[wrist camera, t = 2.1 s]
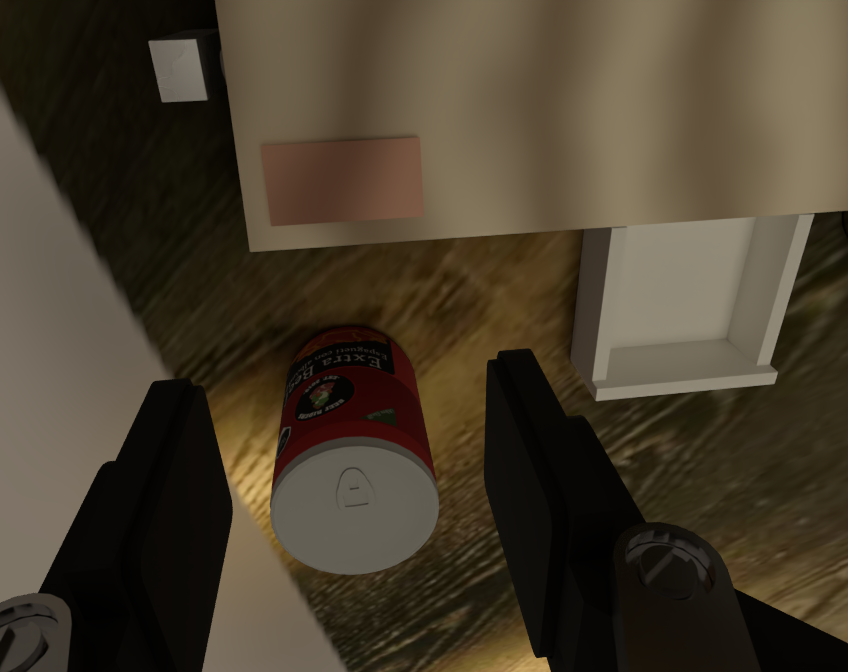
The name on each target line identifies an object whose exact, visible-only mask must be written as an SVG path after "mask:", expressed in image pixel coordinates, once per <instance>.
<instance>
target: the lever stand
mask: <svg viewBox="0 0 848 672" xmlns="http://www.w3.org/2000/svg"><path fill="white" fill-rule="evenodd" d="M148 42H149V47H150V51H151V55H152V60H153V64H154V69H155V73H156V77H157V82H158V86H159V91H160V95H161V100H162V102H177V101H199V100H208V99H209V98H210V97H212V96H213V95H214V94H215V93H216V92H217V91H218V90H220V89H221V88H222V87H223V86H224V85H225V84H226V79H225V78H224V76H223V72H222V68H221V62H220V51H221V50H222V47H221V40H220V32H219V28H215V29H188V30H185V31H182V32H178V33H175V34H171V35H168V36H164V37H161V38H157V39H154V40H150V41H148Z"/></svg>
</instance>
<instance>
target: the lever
mask: <svg viewBox="0 0 848 672" xmlns="http://www.w3.org/2000/svg"><path fill="white" fill-rule="evenodd" d="M215 4H216V11H217V18H218V25H219V32H220V40H221V47H222V50H221V51H220V62H221V68H222V72H223V76H224V78H225V79H226V83H227V90H228V97H229V104H230V111H231V119H232V126H233V133H234V140H235V147H236V154H237V162H238V169H239V176H240V183H241V190H242V197H243V205H244V212H245V219H246V226H247V233H248V240H249V248H250V252H258V251H273V250H287V249H301V248H316V247H330V246H344V245H359V244H373V243H388V242H402V241H416V240H431V239H445V238H459V237H474V236H488V235H503V234H517V233H531V232H546V231H560V230H574V229H589V228H603V227H618V226H632V225H646V224H661V223H675V222H689V221H704V220H718V219H733V218H747V217H761V216H776V215H790V214H804V213H819V212H833V211H848V0H215Z"/></svg>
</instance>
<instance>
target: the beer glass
mask: <svg viewBox="0 0 848 672" xmlns="http://www.w3.org/2000/svg"><path fill="white" fill-rule="evenodd" d="M843 224H844V229H845V232H846V234H847V236H848V211H844V213H843Z"/></svg>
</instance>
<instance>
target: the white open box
mask: <svg viewBox="0 0 848 672" xmlns="http://www.w3.org/2000/svg"><path fill="white" fill-rule="evenodd" d="M813 217H814V214H812V213H804V214H790V215H776V216H761V217H747V218H733V219H718V220H704V221H689V222H675V223H661V224H646V225H632V226H618V227H603V228H589V229H584V234H583V243H582V253H581V262H580V271H579V281H578V290H577V299H576V309H575V318H574V328H573V337H572V346H571V356H570V360H571V362H572V364H573V365H574V367H575V368H576V370H577V372H578V373H579V375H580V376H581V378H582V380H583V381H584V383H585V385H586V386H587V388H588V389H589V391H590V393H591V394H592V396H593V397H594V399H595V401H600V400H611V399H621V398H632V397H642V396H652V395H663V394H673V393H684V392H694V391H705V390H715V389H725V388H736V387H746V386H757V385H767V384H774V383H775V380H776V377H777V374H778V372H777V371H776V370H775V369H774V368H773V367H772V366H770V365H769V364H770V361H771V358H772V354H773V351H774V348H775V344H776V341H777V338H778V334H779V331H780V328H781V324H782V321H783V318H784V314H785V311H786V308H787V304H788V301H789V297H790V294H791V291H792V287H793V284H794V281H795V277H796V274H797V271H798V267H799V264H800V261H801V257H802V254H803V251H804V247H805V244H806V241H807V237H808V234H809V230H810V227H811V224H812V220H813Z"/></svg>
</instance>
